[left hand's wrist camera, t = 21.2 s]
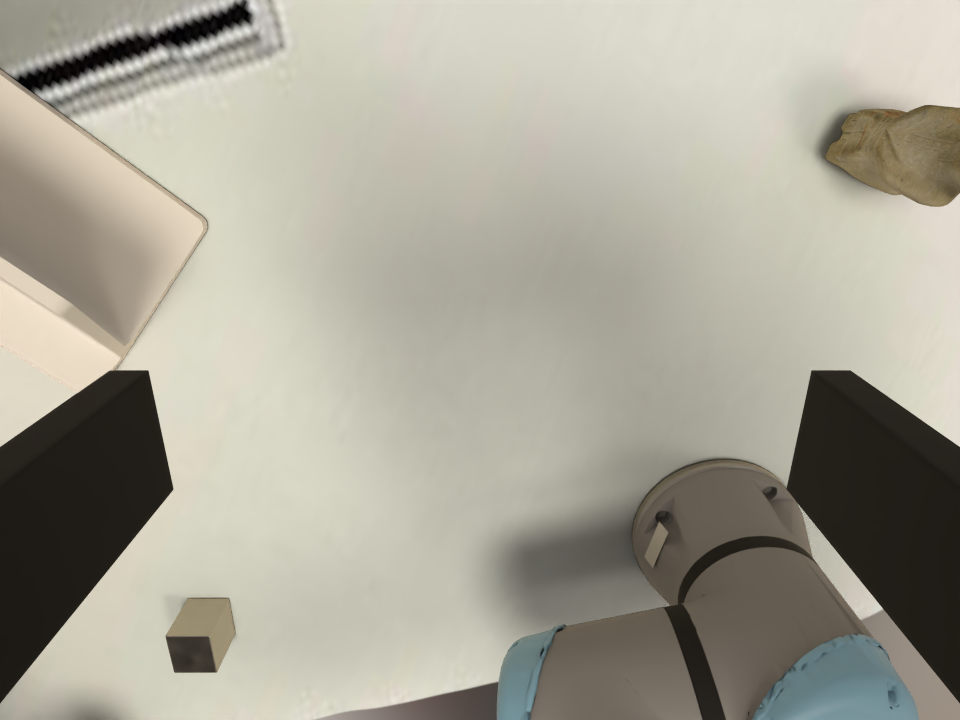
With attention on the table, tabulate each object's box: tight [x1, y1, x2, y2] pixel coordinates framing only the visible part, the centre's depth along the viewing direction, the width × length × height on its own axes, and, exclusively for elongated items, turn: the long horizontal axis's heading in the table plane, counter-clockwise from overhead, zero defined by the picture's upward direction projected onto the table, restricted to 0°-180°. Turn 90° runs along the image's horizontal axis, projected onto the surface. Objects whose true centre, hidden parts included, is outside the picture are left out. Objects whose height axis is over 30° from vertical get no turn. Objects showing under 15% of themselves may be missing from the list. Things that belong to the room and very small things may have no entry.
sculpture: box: [825, 105, 960, 207], centre depth 40 cm, size 6×7×15 cm
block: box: [166, 598, 235, 673], centre depth 61 cm, size 4×5×5 cm
